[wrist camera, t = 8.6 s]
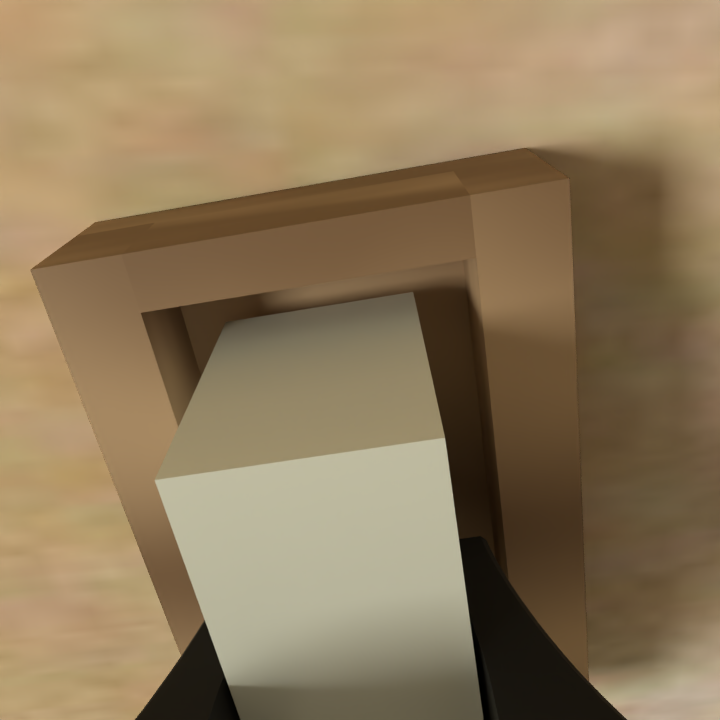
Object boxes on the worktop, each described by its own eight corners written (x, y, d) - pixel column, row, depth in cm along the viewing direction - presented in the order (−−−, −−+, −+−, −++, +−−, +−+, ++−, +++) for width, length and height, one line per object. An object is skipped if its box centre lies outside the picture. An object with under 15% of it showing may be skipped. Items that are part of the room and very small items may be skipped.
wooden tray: (558, 666, 19) (592, 771, 16) (257, 703, 20) (241, 810, 17) (525, 147, 13) (569, 178, 10) (94, 222, 14) (30, 269, 11)
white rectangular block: (468, 674, 17) (509, 911, 12) (326, 692, 17) (316, 931, 12) (412, 291, 13) (445, 438, 8) (226, 321, 13) (154, 480, 8)
